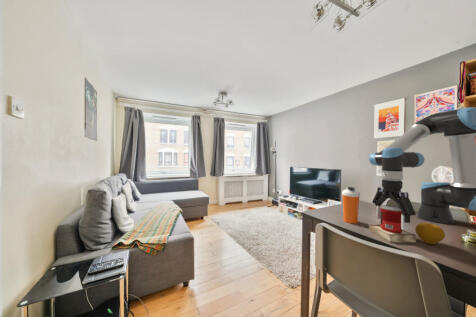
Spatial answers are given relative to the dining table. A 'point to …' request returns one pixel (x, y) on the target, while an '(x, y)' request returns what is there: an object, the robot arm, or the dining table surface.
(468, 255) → the dining table surface
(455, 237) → the dining table surface
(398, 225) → the canned food
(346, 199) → the shaker bottle
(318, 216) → the dining table surface
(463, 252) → the dining table surface
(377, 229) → the dock
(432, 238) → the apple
